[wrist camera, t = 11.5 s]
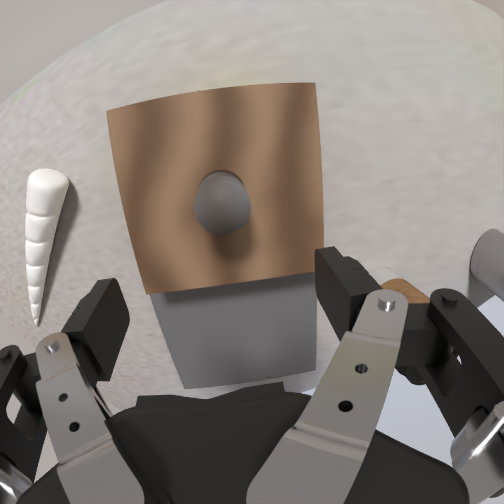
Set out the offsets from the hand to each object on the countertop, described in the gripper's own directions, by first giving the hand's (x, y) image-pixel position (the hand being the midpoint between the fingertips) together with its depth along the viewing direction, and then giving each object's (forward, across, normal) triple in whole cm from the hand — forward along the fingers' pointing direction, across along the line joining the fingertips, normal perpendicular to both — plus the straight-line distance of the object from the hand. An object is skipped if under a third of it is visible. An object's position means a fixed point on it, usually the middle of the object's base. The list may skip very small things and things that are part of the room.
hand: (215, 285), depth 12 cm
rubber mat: (+20, 0, +19) cm, 28 cm away
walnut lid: (+16, 0, 0) cm, 16 cm away
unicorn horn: (+21, +23, +4) cm, 31 cm away
